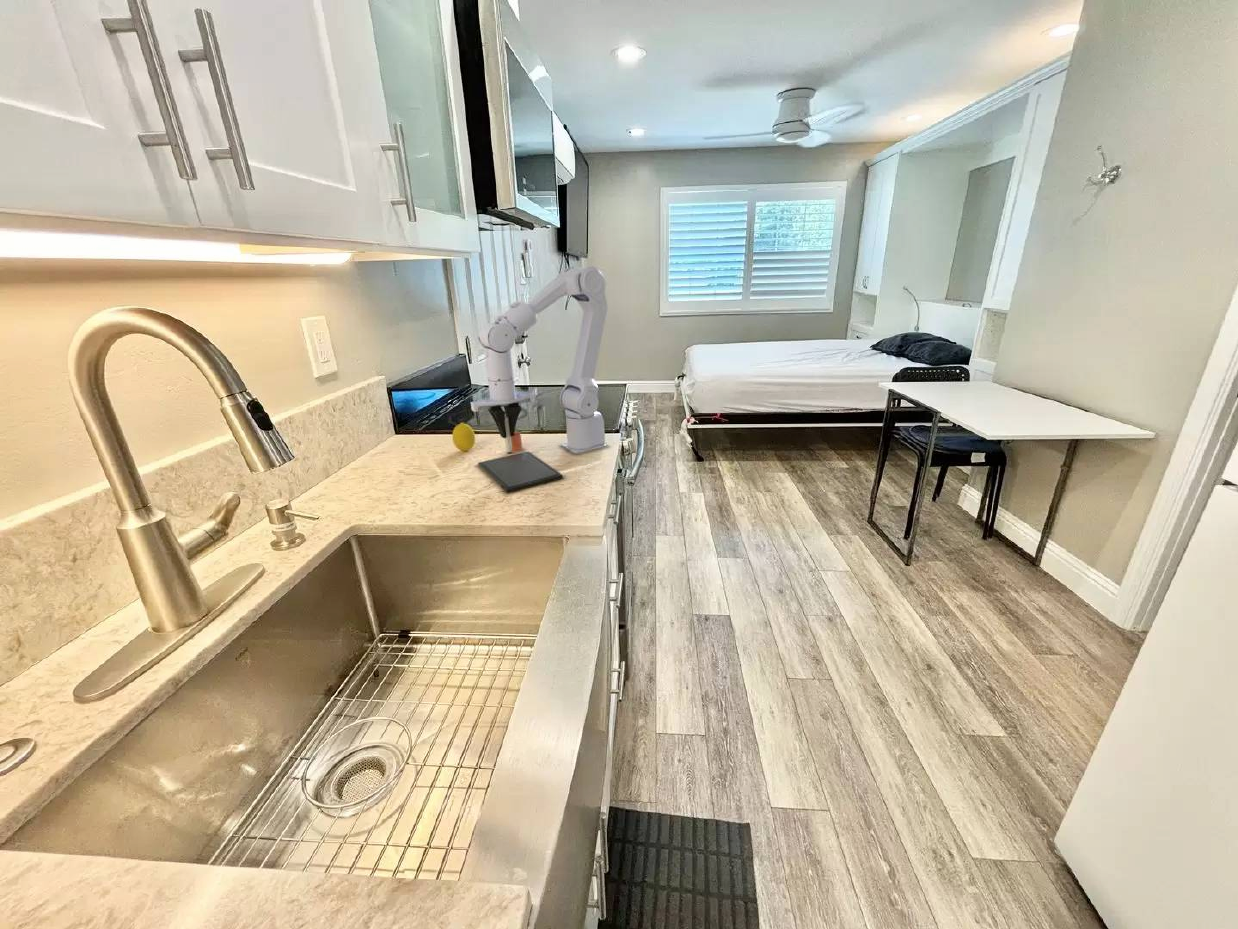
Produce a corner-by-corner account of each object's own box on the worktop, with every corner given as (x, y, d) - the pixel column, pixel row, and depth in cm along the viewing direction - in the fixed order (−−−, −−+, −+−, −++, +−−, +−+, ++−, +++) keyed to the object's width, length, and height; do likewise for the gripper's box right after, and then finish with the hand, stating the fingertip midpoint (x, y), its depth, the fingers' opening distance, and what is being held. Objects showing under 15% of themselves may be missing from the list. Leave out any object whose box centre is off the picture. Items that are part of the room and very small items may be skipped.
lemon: (470, 456, 124) (466, 426, 121) (451, 455, 125) (446, 425, 122) (480, 449, 129) (476, 420, 126) (461, 448, 130) (457, 419, 127)
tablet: (528, 454, 125) (528, 450, 124) (562, 478, 110) (562, 474, 109) (478, 466, 118) (478, 462, 118) (507, 493, 103) (507, 489, 103)
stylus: (511, 452, 118) (506, 416, 114) (513, 453, 117) (509, 417, 113) (505, 453, 117) (501, 417, 114) (507, 455, 116) (503, 418, 113)
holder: (519, 447, 130) (517, 431, 128) (524, 451, 127) (522, 434, 125) (508, 450, 128) (506, 434, 126) (512, 453, 125) (510, 437, 124)
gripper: (523, 371, 117) (529, 426, 122) (463, 380, 110) (471, 437, 115) (536, 376, 111) (541, 433, 116) (473, 385, 104) (481, 445, 109)
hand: (507, 436), depth 115 cm, fingers closed on stylus, 1 cm apart
